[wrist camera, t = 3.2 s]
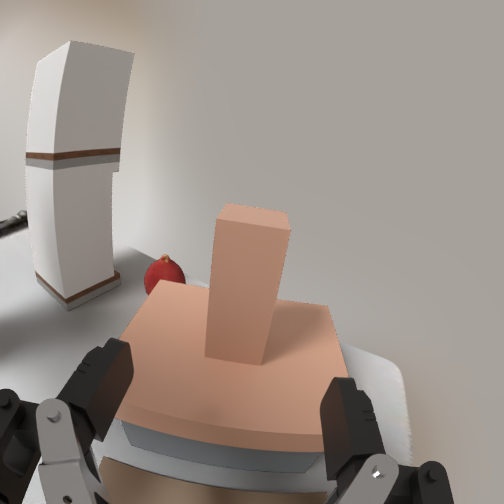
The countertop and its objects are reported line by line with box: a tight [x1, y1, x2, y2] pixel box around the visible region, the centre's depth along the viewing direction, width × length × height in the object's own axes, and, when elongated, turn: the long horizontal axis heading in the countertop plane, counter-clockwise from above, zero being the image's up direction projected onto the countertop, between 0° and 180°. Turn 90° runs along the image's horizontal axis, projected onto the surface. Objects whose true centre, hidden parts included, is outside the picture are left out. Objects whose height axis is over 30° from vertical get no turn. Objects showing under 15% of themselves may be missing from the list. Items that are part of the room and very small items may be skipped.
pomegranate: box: [144, 254, 186, 296], centre depth 37 cm, size 6×6×8 cm
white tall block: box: [26, 41, 134, 311], centre depth 32 cm, size 11×11×35 cm
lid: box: [114, 203, 349, 452], centre depth 19 cm, size 17×15×12 cm
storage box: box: [121, 420, 321, 473], centre depth 22 cm, size 15×13×8 cm
